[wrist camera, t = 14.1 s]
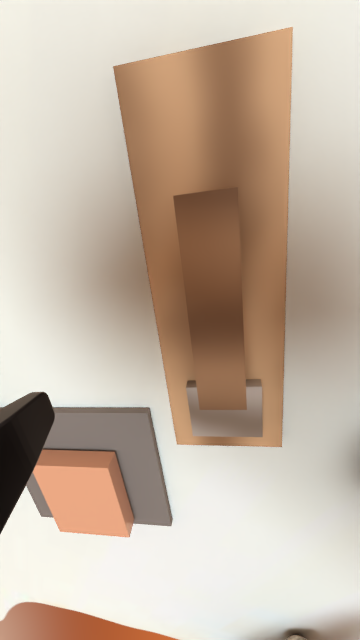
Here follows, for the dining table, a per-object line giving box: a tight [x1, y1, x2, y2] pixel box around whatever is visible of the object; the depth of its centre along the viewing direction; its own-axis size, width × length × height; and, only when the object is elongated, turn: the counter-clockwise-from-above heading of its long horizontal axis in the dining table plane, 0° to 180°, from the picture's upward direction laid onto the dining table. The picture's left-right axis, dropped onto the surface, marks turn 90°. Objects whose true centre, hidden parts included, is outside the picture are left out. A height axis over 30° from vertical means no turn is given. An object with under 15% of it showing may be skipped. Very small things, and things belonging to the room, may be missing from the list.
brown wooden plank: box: [173, 187, 263, 437], centre depth 17 cm, size 16×5×3 cm, turn 8°
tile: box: [33, 450, 134, 537], centre depth 26 cm, size 7×2×9 cm
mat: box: [0, 408, 172, 526], centre depth 27 cm, size 14×14×1 cm
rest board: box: [113, 27, 293, 447], centre depth 18 cm, size 8×24×1 cm, turn 7°
